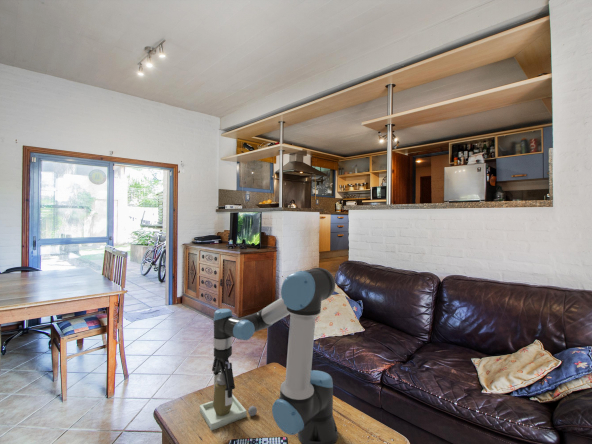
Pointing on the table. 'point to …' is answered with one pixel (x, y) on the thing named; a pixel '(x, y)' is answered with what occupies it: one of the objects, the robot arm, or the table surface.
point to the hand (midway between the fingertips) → (222, 396)
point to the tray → (219, 421)
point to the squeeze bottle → (220, 397)
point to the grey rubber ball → (252, 411)
